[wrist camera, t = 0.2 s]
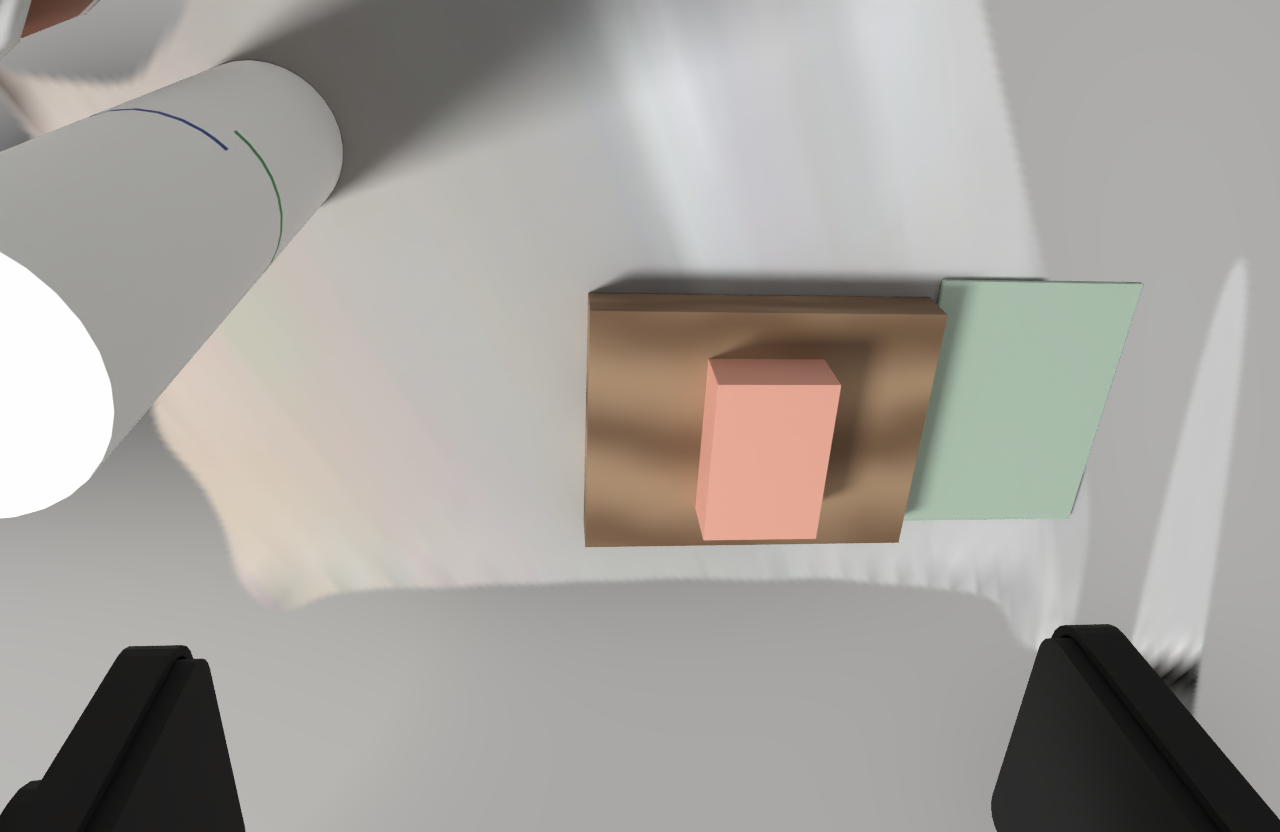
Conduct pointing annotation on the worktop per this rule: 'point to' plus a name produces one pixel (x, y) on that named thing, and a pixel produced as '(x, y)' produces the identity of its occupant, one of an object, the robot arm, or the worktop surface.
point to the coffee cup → (35, 17)
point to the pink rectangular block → (765, 448)
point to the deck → (675, 396)
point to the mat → (1017, 396)
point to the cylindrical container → (140, 255)
